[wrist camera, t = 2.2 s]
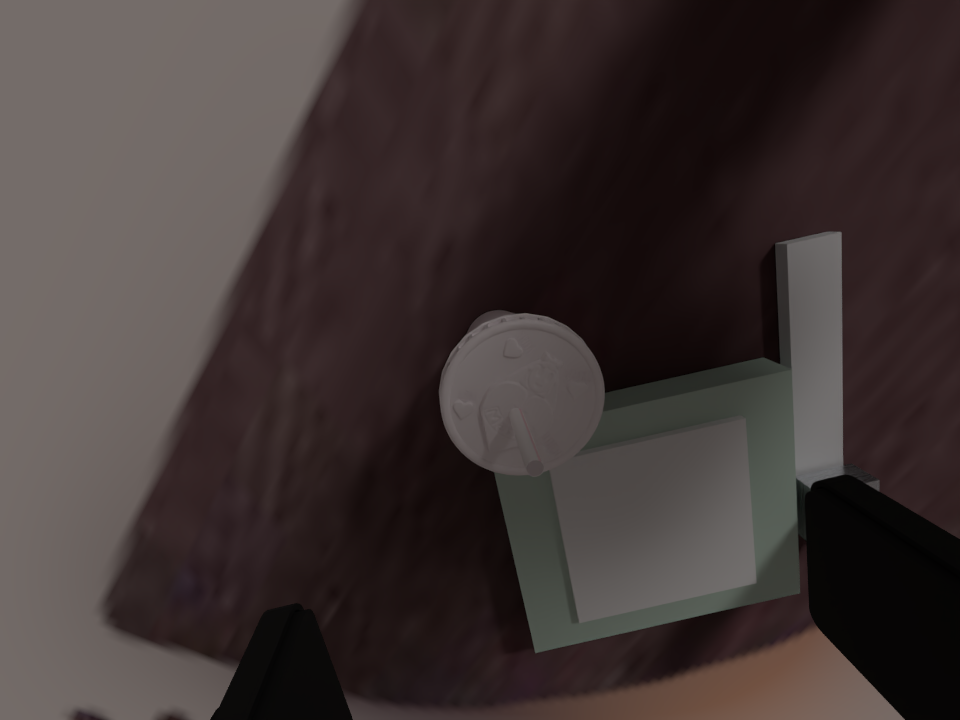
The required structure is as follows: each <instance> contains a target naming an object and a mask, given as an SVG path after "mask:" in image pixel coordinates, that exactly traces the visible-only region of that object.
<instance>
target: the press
mask: <svg viewBox="0 0 960 720" xmlns="http://www.w3.org/2000/svg"><path fill="white" fill-rule="evenodd" d="M775 255H776V278H777V301H778V323H779V346H780V364H778V363H775V362H773V361H771V360H768V359H766V358H764V357H763V358H758V359H754V360H750V361H745V362H741V363H736V364H732V365H727V366H723V367H718V368H714V369H709V370H705V371H700V372H696V373H691V374H687V375H683V376H678V377H674V378H669V379H665V380H660V381H656V382H651V383H647V384H642V385H638V386H633V387H629V388H624V389H620V390H616V391H611V392H607V393H605V400H604V407H603V412H602V416H601V419H600V421H599V424H598V426H597V428H596V430H595V432H594V434H593V435H592V437H591V438H590V440H589V441H588V442H587V444H586V445H585V446H584V447H583V448H582V449H581V450H580V451H579V452H578V453H577V454H576V455H575V456H573V457H572V458H571V459H569V460H568V461H566V462H565V463H563V464H561V465H560V466H557V467H555V468H553V469H551V470H548V471H545V472H543V473H542V474H541V475H539V476H536V477H533V476H530V475H521V476H515V475H505V474H500V473H496V472H494V474H495V479H496V483H497V487H498V492H499V496H500V500H501V505H502V509H503V514H504V518H505V522H506V527H507V531H508V535H509V540H510V544H511V549H512V553H513V557H514V562H515V566H516V570H517V575H518V579H519V584H520V588H521V592H522V597H523V601H524V605H525V610H526V614H527V618H528V623H529V627H530V632H531V636H532V640H533V645H534V649H535V653H537V652H542V651H546V650H551V649H555V648H559V647H564V646H568V645H573V644H577V643H582V642H586V641H590V640H595V639H599V638H604V637H608V636H613V635H617V634H621V633H626V632H630V631H635V630H639V629H643V628H648V627H652V626H657V625H661V624H666V623H670V622H674V621H679V620H683V619H688V618H692V617H696V616H701V615H705V614H710V613H714V612H719V611H723V610H727V609H732V608H736V607H741V606H745V605H749V604H754V603H758V602H763V601H767V600H772V599H776V598H780V597H785V596H789V595H794V594H798V593H800V576H799V549H798V522H797V494H796V476H798V475H803V474H807V473H812V472H816V471H821V470H825V469H829V468H834V467H838V466H843V393H842V242H841V232H824V233H820V234H815V235H811V236H806V237H802V238H797V239H793V240H788V241H784V242H779V243H775Z"/></svg>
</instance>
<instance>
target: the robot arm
mask: <svg viewBox="0 0 960 720" xmlns="http://www.w3.org/2000/svg"><path fill="white" fill-rule="evenodd" d="M805 518H806V542H807V566H808V590H809V609H810V613H811V616H812V618H813V620H814V622H815V624H816V625H817V627H818V628H819V629H820V631H821V632H822V633H823V634H824V635H825V636H826V637H827V638H828V639H829V640H830V641H831V642H832V643H833V644H834V645H835V646H836V648H837V649H838V650H839V651H840V652H841V653H842V654H843V655H844V656H845V657H846V658H847V659H848V660H849V661H850V662H851V663H852V664H853V665H854V666H855V667H856V669H857V670H858V671H859V672H860V673H861V674H862V675H863V676H864V677H865V678H866V679H867V680H868V681H869V682H870V683H871V684H872V685H873V686H874V687H875V688H876V689H877V691H878V692H879V693H880V694H881V695H882V696H883V697H884V698H885V699H886V700H887V701H888V702H889V703H890V704H891V705H892V706H893V707H894V709H895V710H897V712H898V713H899V714H900V715H901V716H902V717H903V718H904V719H905V720H960V539H958V538H957V537H955V536H953V535H952V534H950V533H948V532H947V531H945V530H943V529H941V528H940V527H938V526H936V525H935V524H933V523H931V522H930V521H928V520H926V519H925V518H923V517H921V516H920V515H918V514H916V513H914V512H913V511H911V510H909V509H908V508H906V507H904V506H903V505H901V504H899V503H898V502H896V501H894V500H893V499H891V498H889V497H887V496H886V495H884V494H882V493H881V492H879V491H877V490H876V489H874V488H872V487H871V486H869V485H867V484H866V483H864V482H862V481H860V480H859V479H857V478H855V477H853V476H851V475H840V476H836V477H832V478H827V479H823V480H819V481H816V482H814V483H813V484H812V486H811V491H809V492H807V493H806V495H805ZM210 720H353V719H352V716H351V713H350V710H349V708H348V705H347V702H346V700H345V697H344V694H343V691H342V689H341V686H340V683H339V681H338V678H337V675H336V672H335V670H334V667H333V664H332V662H331V659H330V656H329V653H328V651H327V648H326V645H325V643H324V640H323V637H322V634H321V632H320V629H319V626H318V624H317V621H316V618H315V615H314V613H313V611H312V610H310V609H307V610H304V609H303V607H302V606H301V605H300V604H297V603H296V604H292V605H287V606H283V607H279V608H275V609H270V610H267V611H266V612H264V614H263V615H262V617H261V619H260V621H259V623H258V625H257V628H256V630H255V632H254V634H253V636H252V638H251V640H250V642H249V645H248V647H247V649H246V651H245V653H244V655H243V657H242V660H241V662H240V664H239V666H238V668H237V670H236V672H235V674H234V677H233V679H232V681H231V683H230V685H229V687H228V690H227V692H226V694H225V696H224V698H223V700H222V702H221V704H220V707H219V708H218V709H217V710H216V711H215V713H214V714H213V716H212V717H211V719H210Z"/></svg>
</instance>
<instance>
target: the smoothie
mask: <svg viewBox="0 0 960 720" xmlns="http://www.w3.org/2000/svg"><path fill="white" fill-rule="evenodd" d="M439 399H440V408H441V415H442V420H443V423H444V426H445V428H446V431H447V433H448V435H449V437H450V438H451V440H452V442H453V443H454V444H455V446H456V447H457V448H458V449H459V450H460V452H461V453H463V454H464V455H465V456H466V457H467V458H468V459H470V460H471V461H472V462H474V463H475V464H477V465H479V466H481V467H483V468H485V469H487V470H490V471H493V472H496V473H500V474H505V475H515V476H521V475H530V476H533V477H536V476H539V475H541V474H542V473H543V472H545V471H548V470H551V469H553V468H555V467H557V466H560V465H561V464H563V463H565V462H566V461H568V460H569V459H571V458H572V457H573V456H575V455H576V454H577V453H578V452H579V451H580V450H581V449H582V448H583V447H584V446H585V445H586V444H587V442H588V441H589V440H590V438H591V437H592V435H593V434H594V432H595V430H596V428H597V426H598V424H599V421H600V419H601V416H602V412H603V407H604V400H605V388H604V380H603V376H602V372H601V369H600V367H599V364H598V362H597V360H596V358H595V357H594V355H593V353H592V352H591V351H590V349H589V348H588V347H587V345H586V344H585V342H584V341H583V339H582V338H581V337H579V336H578V335H577V334H576V333H575V332H574V331H572V330H571V329H570V328H569V327H568V326H566V325H564V324H562V323H560V322H558V321H556V320H553V319H551V318H549V317H546V316H540V315H534V314H528V313H522V314H514V313H511V312H508V311H504V310H493V311H489V312H486V313H484V314H482V315H481V316H479V317H478V318H477V319H476V320H475V321H474V322H473V323H472V324H471V326H470V327H469V329H468V332H467V334H466V335H465V336H464V337H463V339H462V340H461V341H460V342H459V343H458V344H457V346H456V347H455V348H454V349H453V350H452V352H451V353H450V355H449V358H448V360H447V362H446V364H445V366H444V368H443V370H442V375H441V381H440V387H439Z"/></svg>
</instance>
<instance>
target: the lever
mask: <svg viewBox="0 0 960 720" xmlns="http://www.w3.org/2000/svg"><path fill="white" fill-rule="evenodd" d="M840 475H851V476H853V477H855V478H857V479H859V480H860V481H862V482H864V483H866V484H867V485H869V486H871V487H872V488H874V489H876V490H877V491H879V479H877V478H875V477H874V476H872V475H870V474H868V473H867V472H865V471H863V470H862V469H860V468H858V467H857V466H855V465H853V464H847V465H843V466H838V467H834V468H829V469H825V470H821V471H816V472H812V473H807V474H803V475H798V476H796V494H797V522H798V534H799V535H800V536H801V537H802V538H804V539H805V540H806V518H805V495H806V493H807V492H809V491H811V486H812V484H813V483H814V482H816V481H819V480H823V479H827V478H832V477H836V476H840Z"/></svg>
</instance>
